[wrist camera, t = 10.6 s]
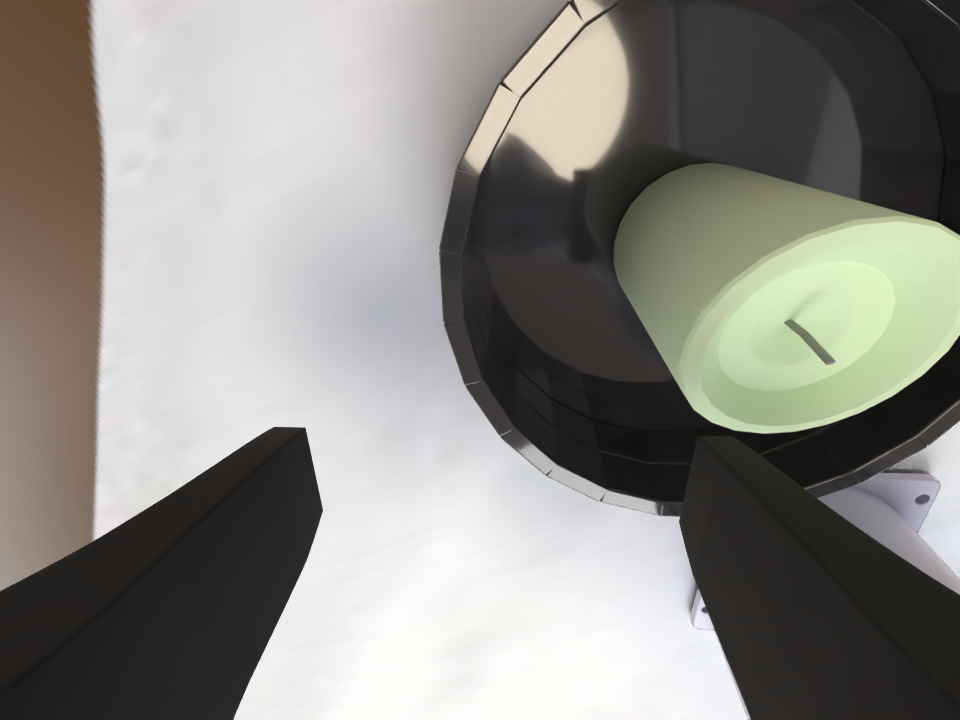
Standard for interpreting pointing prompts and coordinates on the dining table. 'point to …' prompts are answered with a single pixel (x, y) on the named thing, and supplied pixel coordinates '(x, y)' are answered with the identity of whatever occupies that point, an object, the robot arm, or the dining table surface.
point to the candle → (785, 295)
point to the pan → (644, 159)
